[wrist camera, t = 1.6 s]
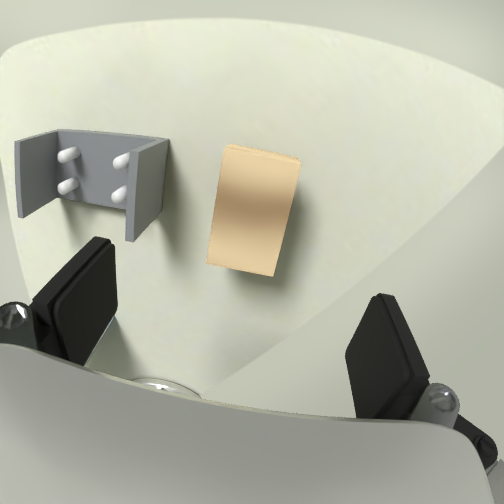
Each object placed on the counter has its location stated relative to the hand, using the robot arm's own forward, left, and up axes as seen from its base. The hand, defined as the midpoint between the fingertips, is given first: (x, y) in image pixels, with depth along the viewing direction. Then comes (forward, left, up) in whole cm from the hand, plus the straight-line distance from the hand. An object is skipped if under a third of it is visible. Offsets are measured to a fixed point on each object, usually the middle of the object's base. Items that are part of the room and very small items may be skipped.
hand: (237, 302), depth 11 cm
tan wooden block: (0, 0, -12) cm, 12 cm away
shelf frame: (0, +13, -15) cm, 19 cm away
